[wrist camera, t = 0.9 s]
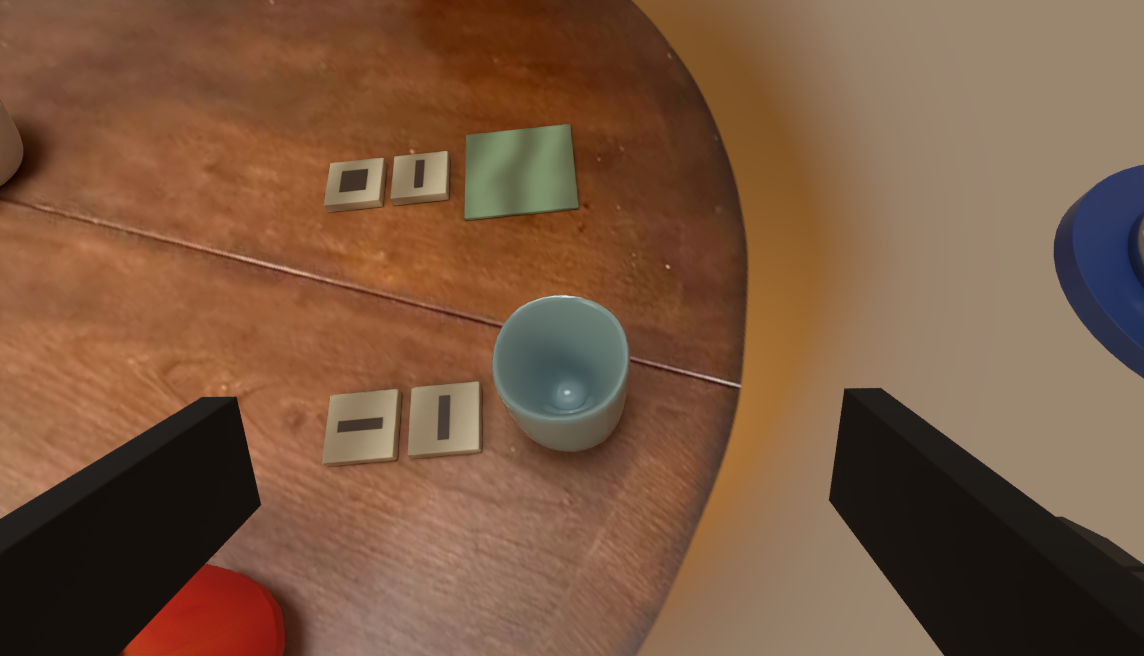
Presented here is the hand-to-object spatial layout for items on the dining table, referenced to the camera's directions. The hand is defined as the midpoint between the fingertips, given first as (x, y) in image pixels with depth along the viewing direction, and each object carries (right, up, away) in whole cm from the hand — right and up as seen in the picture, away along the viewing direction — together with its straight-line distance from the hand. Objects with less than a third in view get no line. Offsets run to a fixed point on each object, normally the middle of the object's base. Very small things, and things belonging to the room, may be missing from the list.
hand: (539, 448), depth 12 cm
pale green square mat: (-10, +16, +37) cm, 42 cm away
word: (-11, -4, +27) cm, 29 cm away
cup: (+1, -3, +26) cm, 27 cm away
